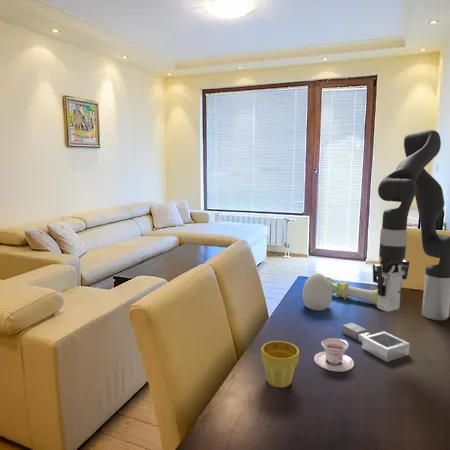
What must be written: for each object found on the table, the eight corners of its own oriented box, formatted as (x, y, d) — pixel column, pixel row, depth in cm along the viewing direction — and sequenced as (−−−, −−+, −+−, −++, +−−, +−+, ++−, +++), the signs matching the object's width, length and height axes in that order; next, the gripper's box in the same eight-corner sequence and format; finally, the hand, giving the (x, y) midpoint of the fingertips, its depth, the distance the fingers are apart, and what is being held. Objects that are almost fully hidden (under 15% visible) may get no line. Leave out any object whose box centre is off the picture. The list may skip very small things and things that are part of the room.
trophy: (384, 286, 169) (318, 274, 186) (379, 291, 163) (312, 278, 180) (382, 304, 170) (317, 290, 187) (378, 309, 164) (311, 294, 181)
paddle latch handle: (357, 328, 143) (357, 318, 143) (408, 354, 124) (409, 343, 123) (336, 334, 139) (337, 323, 138) (386, 362, 119) (387, 349, 119)
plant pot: (289, 396, 102) (290, 362, 100) (254, 384, 107) (254, 351, 106) (303, 378, 110) (304, 346, 109) (270, 368, 116) (271, 337, 114)
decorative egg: (335, 305, 167) (336, 272, 164) (326, 314, 157) (327, 279, 154) (308, 300, 173) (309, 267, 171) (297, 308, 163) (298, 274, 161)
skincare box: (388, 312, 120) (391, 274, 118) (376, 307, 124) (378, 271, 122) (400, 308, 124) (403, 271, 122) (387, 304, 127) (390, 268, 125)
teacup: (331, 376, 112) (332, 356, 111) (306, 357, 122) (306, 339, 121) (362, 367, 117) (363, 347, 116) (335, 349, 128) (336, 332, 127)
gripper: (398, 238, 127) (395, 287, 130) (366, 242, 121) (363, 294, 123) (419, 243, 120) (414, 294, 123) (386, 247, 114) (382, 301, 117)
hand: (389, 294), depth 123 cm, fingers closed on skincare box, 6 cm apart
